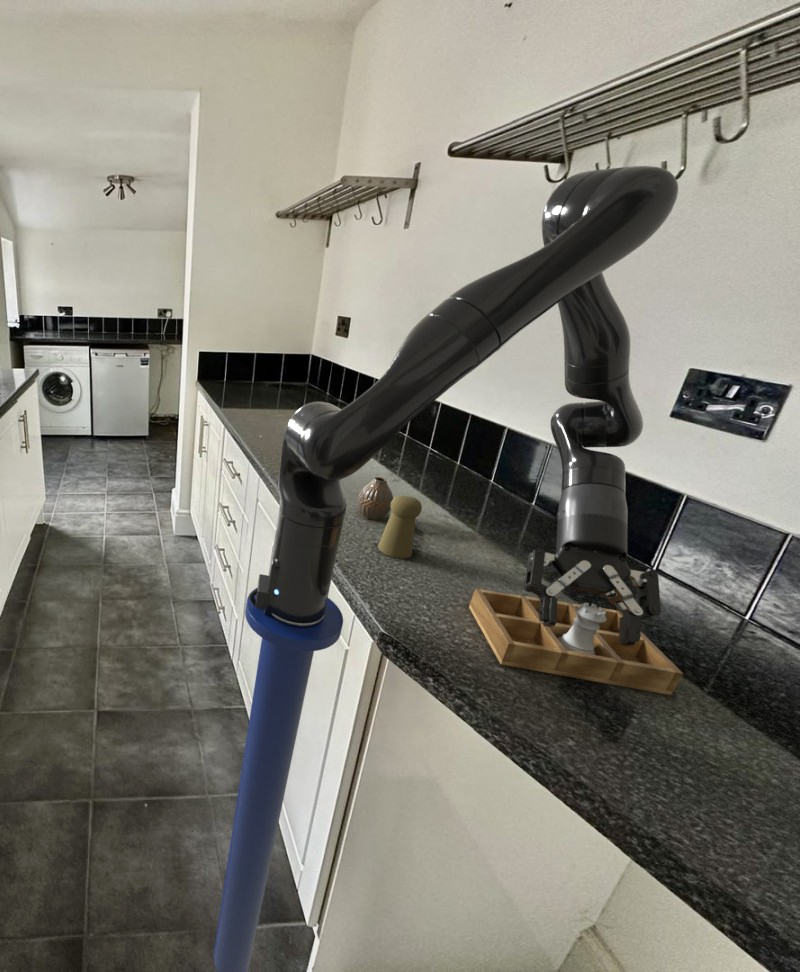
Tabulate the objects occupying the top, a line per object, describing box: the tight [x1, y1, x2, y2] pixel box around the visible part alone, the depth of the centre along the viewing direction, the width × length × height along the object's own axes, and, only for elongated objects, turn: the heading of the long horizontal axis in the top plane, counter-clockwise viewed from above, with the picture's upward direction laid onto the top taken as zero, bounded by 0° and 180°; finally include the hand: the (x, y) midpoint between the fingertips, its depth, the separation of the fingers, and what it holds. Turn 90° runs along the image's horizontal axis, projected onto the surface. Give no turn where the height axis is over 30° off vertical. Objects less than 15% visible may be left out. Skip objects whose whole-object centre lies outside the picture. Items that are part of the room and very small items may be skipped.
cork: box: [377, 494, 423, 559], centre depth 95 cm, size 6×6×11 cm
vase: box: [357, 476, 394, 521], centre depth 109 cm, size 7×7×9 cm
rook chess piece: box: [558, 602, 607, 655], centre depth 68 cm, size 4×4×8 cm
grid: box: [468, 588, 684, 696], centre depth 72 cm, size 20×13×4 cm
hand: (587, 635), depth 67 cm, fingers open, 8 cm apart
